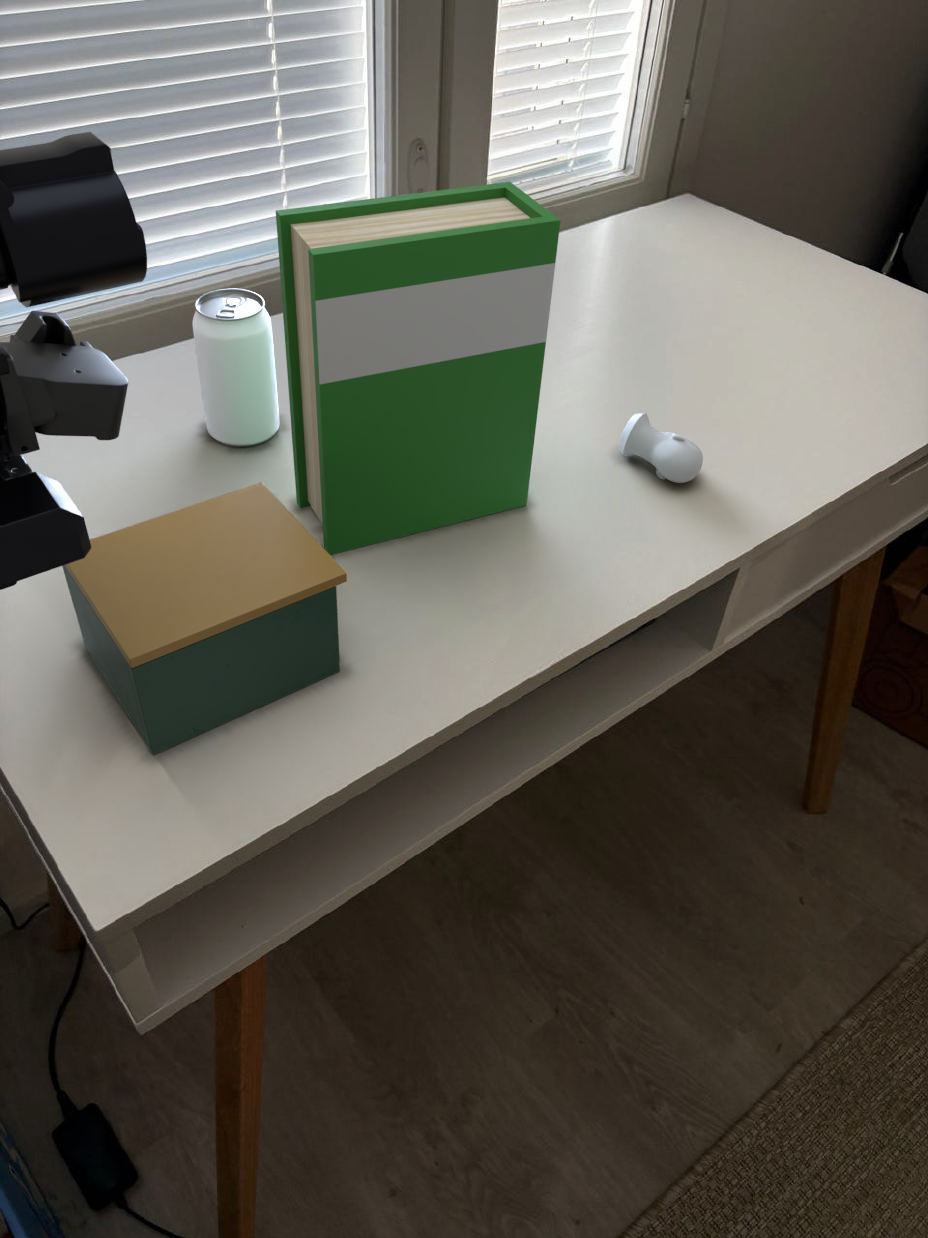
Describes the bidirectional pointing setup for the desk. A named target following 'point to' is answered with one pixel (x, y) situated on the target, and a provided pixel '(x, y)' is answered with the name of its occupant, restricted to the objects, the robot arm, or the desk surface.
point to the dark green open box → (216, 668)
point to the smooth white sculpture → (661, 450)
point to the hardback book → (414, 356)
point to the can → (236, 367)
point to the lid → (201, 572)
